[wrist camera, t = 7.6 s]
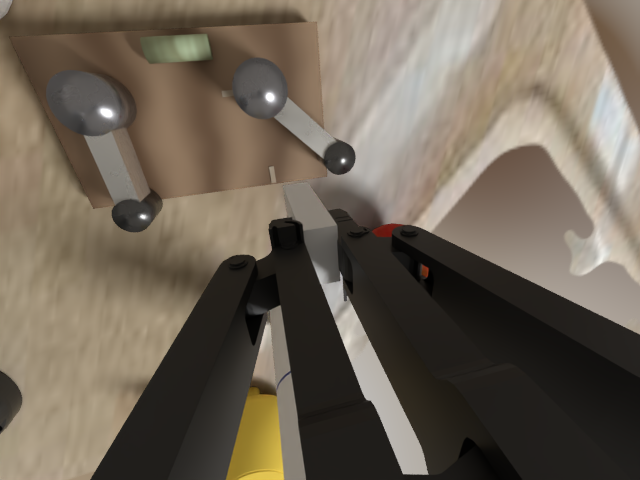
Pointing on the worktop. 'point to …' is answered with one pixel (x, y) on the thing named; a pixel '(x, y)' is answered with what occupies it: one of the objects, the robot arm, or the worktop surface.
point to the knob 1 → (107, 140)
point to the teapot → (258, 441)
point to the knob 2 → (286, 111)
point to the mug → (4, 7)
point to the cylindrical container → (286, 402)
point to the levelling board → (189, 103)
